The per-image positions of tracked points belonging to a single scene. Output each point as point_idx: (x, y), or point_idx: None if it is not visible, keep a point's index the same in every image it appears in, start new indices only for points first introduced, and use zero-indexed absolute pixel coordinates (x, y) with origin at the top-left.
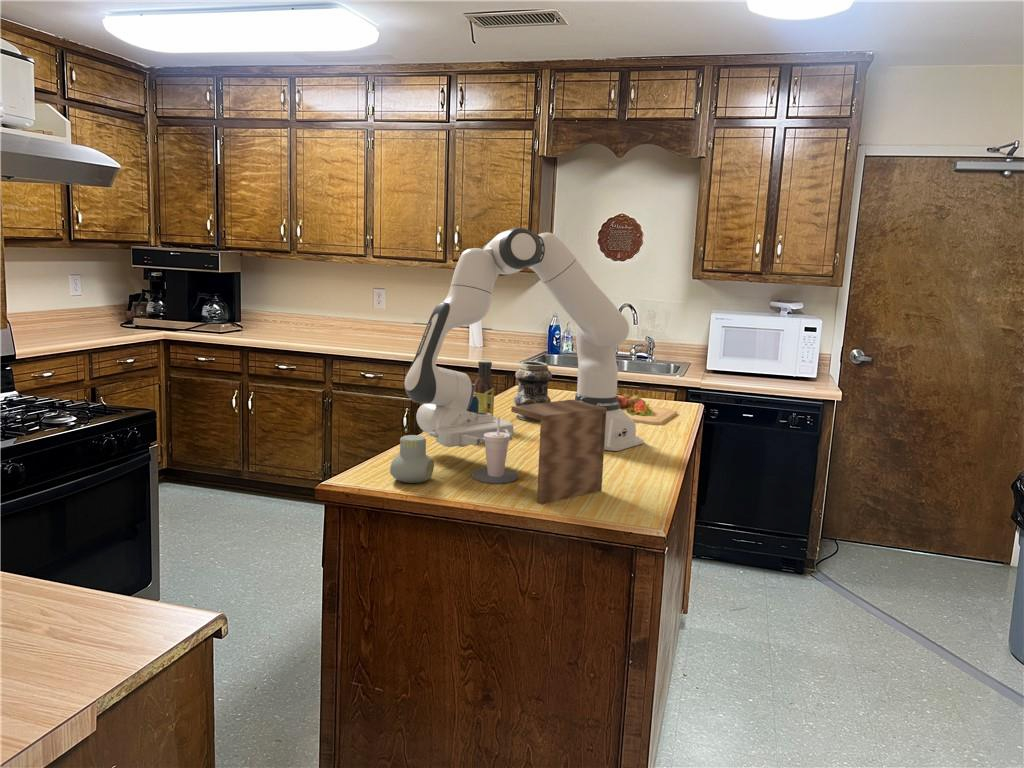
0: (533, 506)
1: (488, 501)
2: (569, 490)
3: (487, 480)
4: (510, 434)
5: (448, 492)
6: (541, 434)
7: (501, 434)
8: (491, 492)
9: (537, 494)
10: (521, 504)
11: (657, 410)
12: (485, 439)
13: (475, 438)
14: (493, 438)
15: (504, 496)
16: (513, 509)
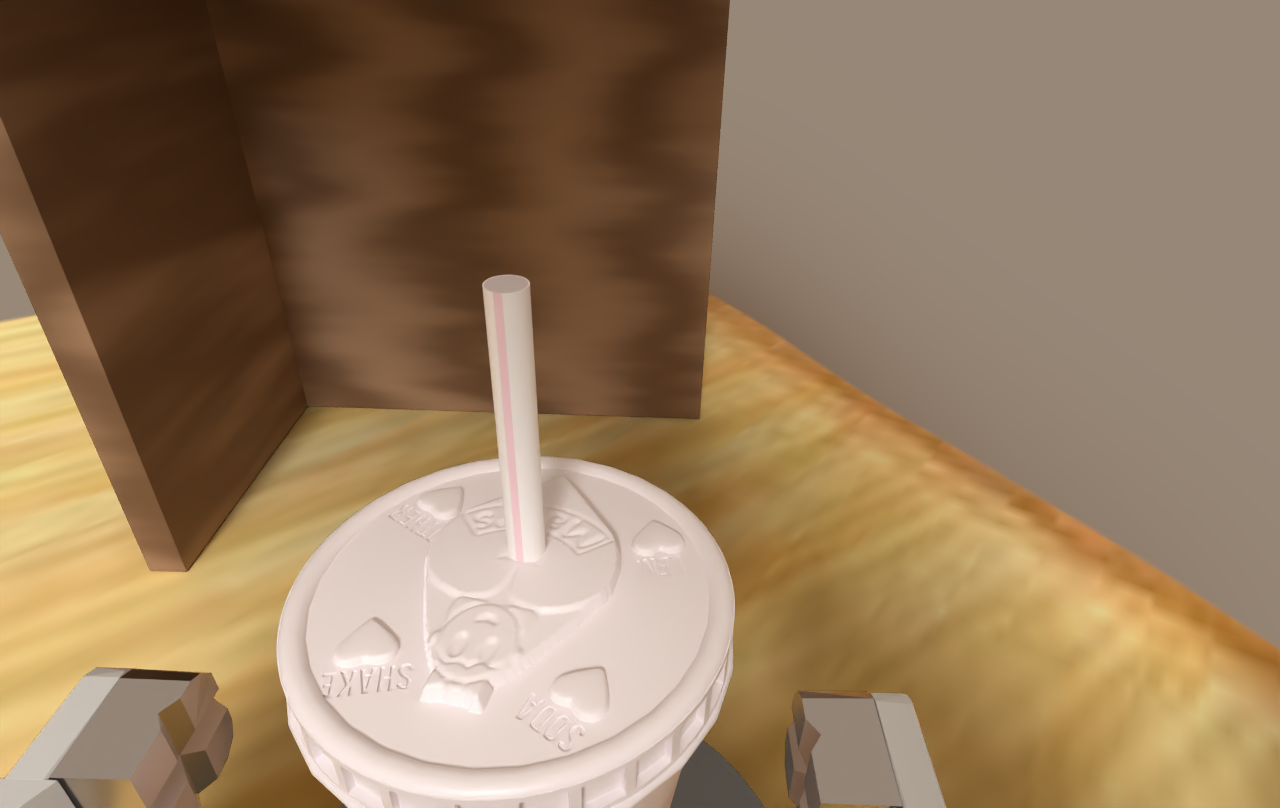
0: (747, 402)
1: (935, 520)
2: None
3: (749, 790)
4: (136, 671)
5: (1194, 775)
6: (726, 32)
7: (476, 534)
8: (839, 617)
9: (701, 381)
10: (783, 433)
11: None
12: (729, 648)
13: (901, 702)
14: (679, 516)
15: (798, 533)
16: (858, 414)
